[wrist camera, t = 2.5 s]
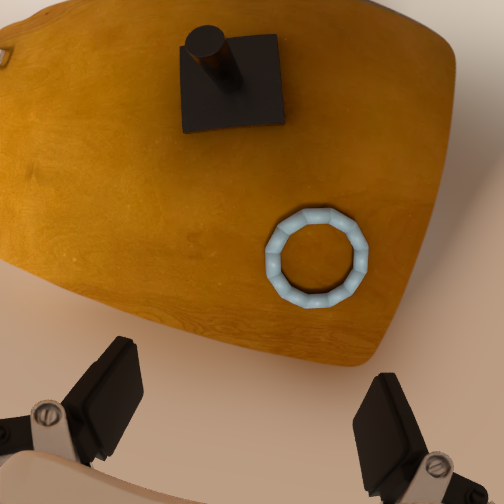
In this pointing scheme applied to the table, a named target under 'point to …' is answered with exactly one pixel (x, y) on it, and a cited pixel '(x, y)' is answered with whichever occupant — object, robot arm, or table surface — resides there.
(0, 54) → the zipper pull
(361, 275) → the ring
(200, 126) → the post
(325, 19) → the table surface
